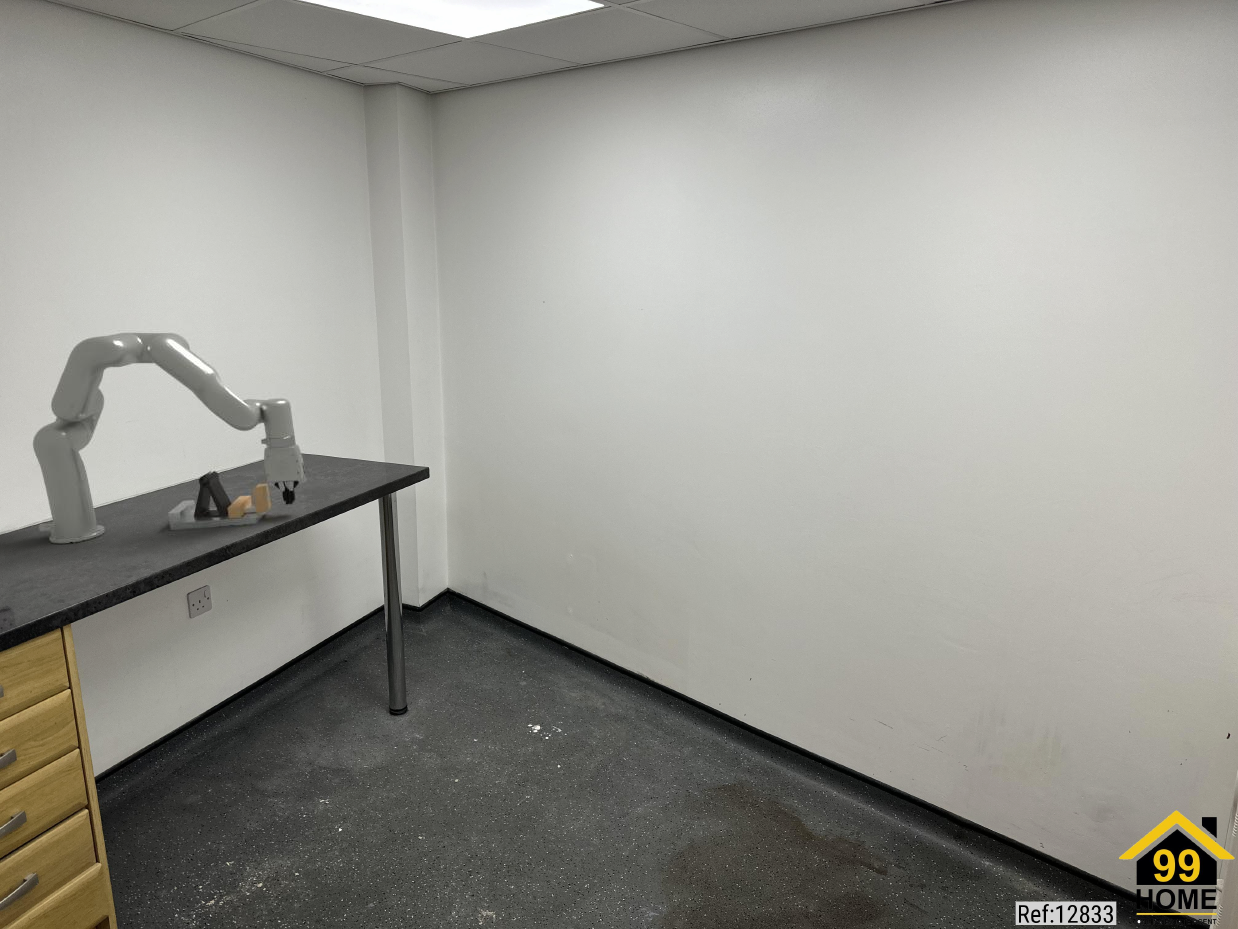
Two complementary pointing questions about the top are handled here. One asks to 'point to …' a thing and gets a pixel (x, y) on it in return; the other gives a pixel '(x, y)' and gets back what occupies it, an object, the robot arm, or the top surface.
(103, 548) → the top surface
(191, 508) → the fixed jaw
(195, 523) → the grey base plate
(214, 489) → the black triangular frame
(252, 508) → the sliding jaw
